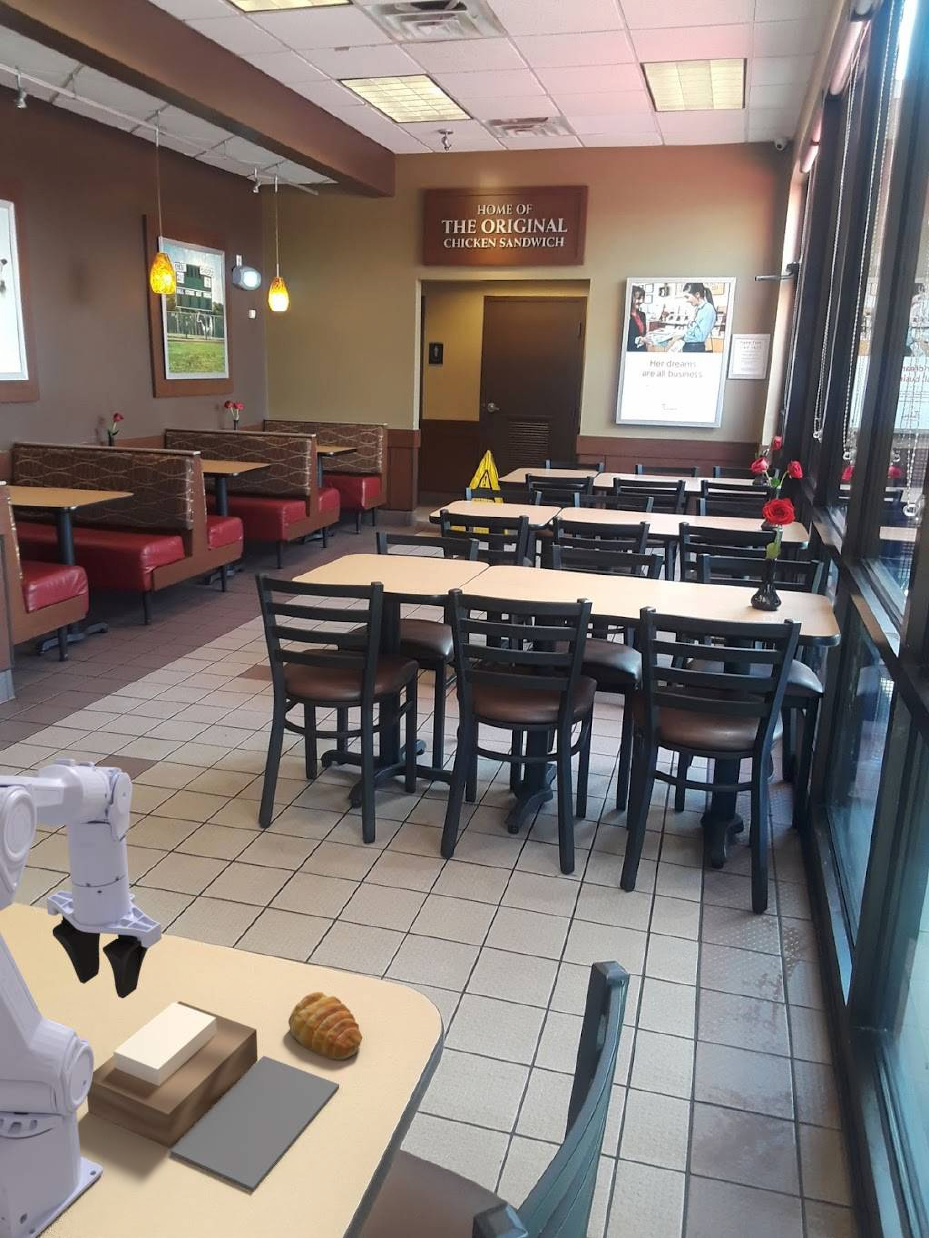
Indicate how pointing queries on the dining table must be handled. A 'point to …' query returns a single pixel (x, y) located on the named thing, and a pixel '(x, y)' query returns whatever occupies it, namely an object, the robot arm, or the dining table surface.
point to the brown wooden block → (175, 1085)
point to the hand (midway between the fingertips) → (108, 985)
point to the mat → (255, 1122)
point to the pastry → (325, 1026)
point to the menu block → (165, 1043)
